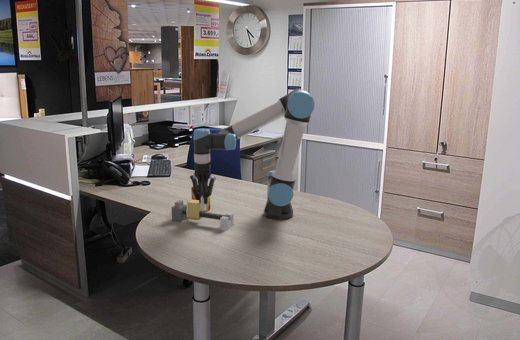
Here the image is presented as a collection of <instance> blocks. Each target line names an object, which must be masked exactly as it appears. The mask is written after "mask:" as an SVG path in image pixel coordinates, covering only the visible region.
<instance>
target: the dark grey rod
mask: <svg viewBox="0 0 520 340" xmlns="http://www.w3.org/2000/svg"><path fill="white" fill-rule="evenodd" d="M183 214H184V215H187V218H188V214H187V209H184V210H183ZM222 216H224V217H228V220H229V216H227V215H226V214H221V213H213V212H208V211H207V212H201V211H200V212H199V217H203V219H204V218H205V219H212V220H217V221H220V218H222Z"/></svg>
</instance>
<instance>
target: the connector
mask: <svg viewBox="0 0 520 340" xmlns="http://www.w3.org/2000/svg"><path fill="white" fill-rule="evenodd" d="M184 209H187V204H184V200H181V199H178V200H177V201H175V202H174V205H173V206H172V207H171V221H172V222H175V223H176V222H177V223H182V222H185V220H187V219H188V217H187V215H184V214H183V210H184Z"/></svg>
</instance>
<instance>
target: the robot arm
mask: <svg viewBox="0 0 520 340" xmlns="http://www.w3.org/2000/svg"><path fill="white" fill-rule="evenodd" d="M314 109H315V100H314V97H313V95H312V94H311V93H309V92H308V91H307V90H306V89H302V88H296V89H293V90H291V91H290V92H288V93H287V94H285V95H284V96H281V97H280V98H278V100H277V101H276V102H274V103H273V104H271V105H269V106H267V107H265V108H263V109H261V110H259V111H257V112H254V113H253V114H251V115H249V116H248V117H245V118H243V119H241V120H239V121H236V122H235V123H232V125H230V126H227V127H224V128H222V129H220V130H219V131H218V133H212V132H211V130H210V129H209V128H196V129H195V130H194V131H193V139H192V140H193V161H194V163H193V164H194V173H193V174H191V175H190V176H189V178H190V181H191V183H192V187H194V191H195V195H196V196H199V203H201V211H205V210H206V204H207V203H208V197H209V196H210V197H211V196H212V193H213V189H214V183H215V181H216V179H217V178H216V176H213V175H212V172H211V170H212V169H211V164H212V163H211V150H213V151H215V150H216V151H217V150H218V151H230V150H231V151H233V150H236V148H237V141H238V140H239V139H241V138H243V137H245V136H248V135H249V134H251V133H253V132H255V131H257V130H259V129H262V128H263V127H266V126H267V125H270V124H271V123H274V122H275V121H278V120H280V119H281V118H284V121H286V122H285V127H284V132H283V136H282V141H281V144H280V150H279V154H278V158H277V162H276V167H275V168H276V169H274V170H270V171H268V172H267V176H266V177H267V187H266V188H267V192H266V193H267V194H266V195H267V197H266V198H267V199H266V203H265V205H264V208H263V215H264V217H265V218H267V219H270V220H271V219H272V220H288V219H291V218H292V217H293V216H294V208H293V205H292V203H291V202H292V201H293V198H294V188H295V185H296V177H295V176H294V174H295V170H296V167H297V162H298V158H299V154H300V153H299V152H300V148H301V144H302V140H303V135H304V132H305V126H306V125H308V124H309V123H310V121H311V117H312V116H311V115H312V114H313V111H314ZM208 186H209V187H208Z"/></svg>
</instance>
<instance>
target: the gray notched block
mask: <svg viewBox="0 0 520 340" xmlns="http://www.w3.org/2000/svg"><path fill="white" fill-rule="evenodd" d="M225 215H227V216H229V220H228V217H224V216H222V218H220V220H219V221H220V222H219V229H220V231H225V232H227V231H228V230H229V229H231V228H232V227H233V226H234V225H235V224H234V223H235V221H234V220H235V219H234V213H233V212H227V213H225Z"/></svg>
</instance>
